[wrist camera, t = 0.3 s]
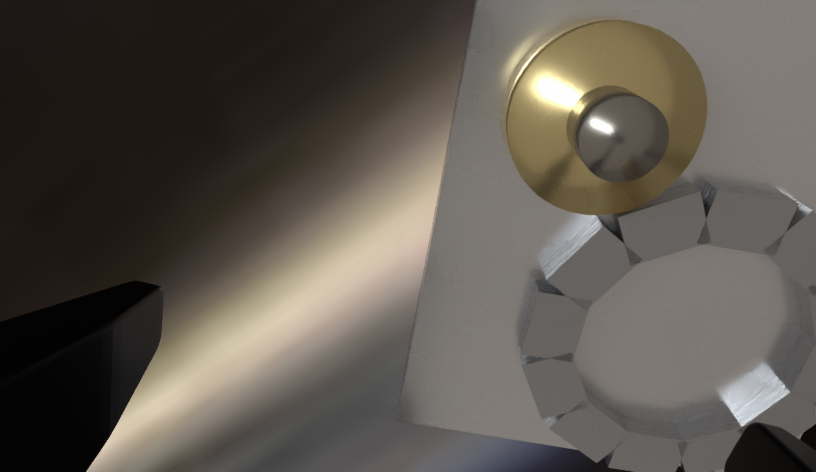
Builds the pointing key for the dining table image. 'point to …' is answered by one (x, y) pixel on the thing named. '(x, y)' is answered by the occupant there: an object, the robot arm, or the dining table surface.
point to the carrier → (625, 231)
